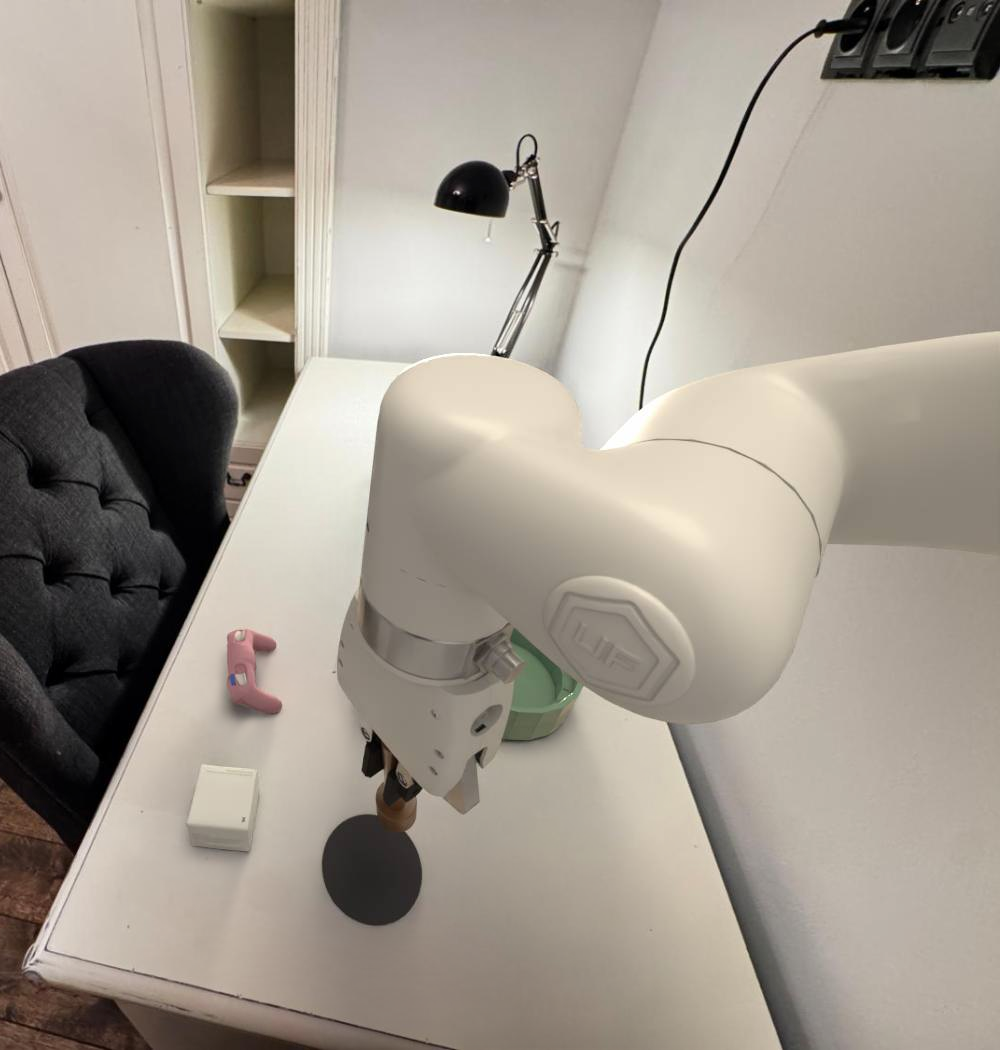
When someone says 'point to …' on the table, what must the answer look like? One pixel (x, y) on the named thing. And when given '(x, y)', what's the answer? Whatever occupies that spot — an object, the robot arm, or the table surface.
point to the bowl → (538, 694)
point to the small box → (223, 808)
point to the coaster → (371, 870)
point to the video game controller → (248, 670)
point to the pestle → (399, 812)
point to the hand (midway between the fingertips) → (391, 776)
